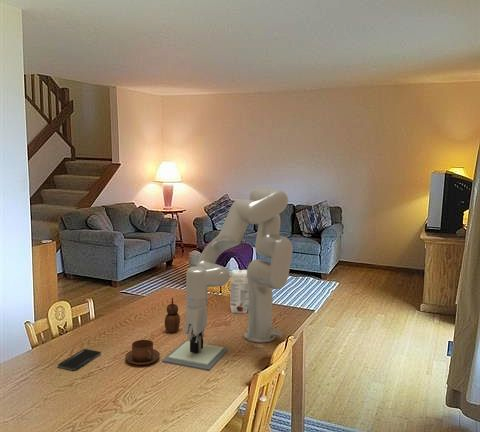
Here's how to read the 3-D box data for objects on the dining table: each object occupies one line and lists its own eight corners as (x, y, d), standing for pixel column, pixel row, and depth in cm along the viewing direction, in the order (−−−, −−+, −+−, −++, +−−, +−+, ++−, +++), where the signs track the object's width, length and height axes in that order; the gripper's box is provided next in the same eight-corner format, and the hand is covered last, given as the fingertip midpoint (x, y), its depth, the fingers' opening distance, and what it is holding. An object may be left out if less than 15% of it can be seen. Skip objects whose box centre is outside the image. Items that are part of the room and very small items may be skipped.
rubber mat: (228, 350, 183) (228, 348, 183) (209, 370, 166) (209, 369, 166) (184, 342, 189) (184, 341, 189) (162, 361, 172) (162, 360, 172)
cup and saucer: (166, 358, 175) (166, 342, 174) (143, 371, 165) (143, 353, 164) (142, 350, 181) (142, 334, 181) (118, 362, 171) (117, 345, 170)
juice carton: (248, 313, 223) (249, 273, 220) (229, 313, 223) (230, 273, 220) (248, 308, 230) (249, 269, 227) (230, 308, 230) (231, 268, 228)
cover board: (223, 349, 182) (223, 331, 181) (207, 366, 168) (207, 347, 167) (186, 343, 187) (186, 326, 186) (168, 359, 173) (168, 340, 172)
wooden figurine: (176, 334, 196) (176, 298, 194) (162, 333, 198) (162, 297, 195) (181, 328, 203) (181, 293, 201) (168, 327, 204) (168, 292, 202)
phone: (56, 365, 166) (84, 348, 180) (56, 368, 166) (84, 351, 180) (75, 369, 163) (102, 352, 177) (75, 372, 163) (102, 355, 177)
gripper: (196, 293, 183) (196, 340, 186) (176, 307, 168) (176, 357, 171) (215, 296, 181) (214, 343, 183) (196, 310, 165) (196, 361, 168)
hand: (196, 349), depth 177 cm, fingers closed on cover board, 3 cm apart
